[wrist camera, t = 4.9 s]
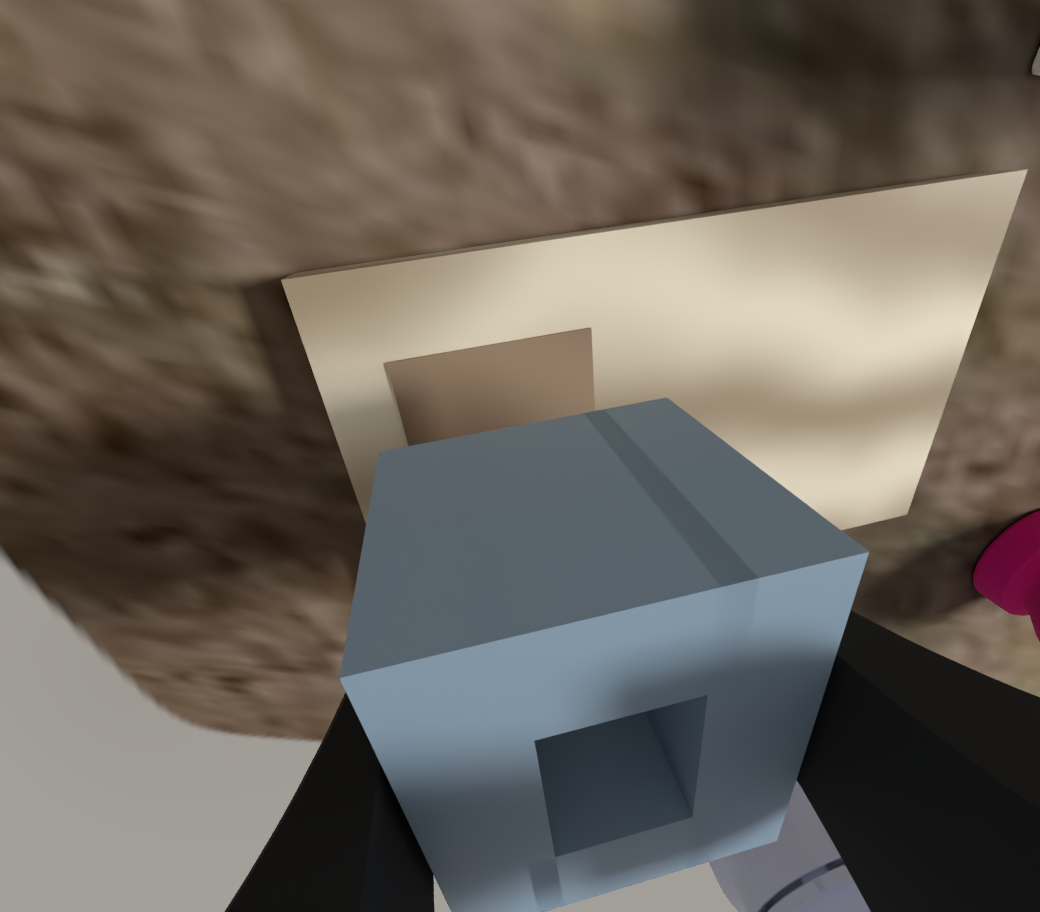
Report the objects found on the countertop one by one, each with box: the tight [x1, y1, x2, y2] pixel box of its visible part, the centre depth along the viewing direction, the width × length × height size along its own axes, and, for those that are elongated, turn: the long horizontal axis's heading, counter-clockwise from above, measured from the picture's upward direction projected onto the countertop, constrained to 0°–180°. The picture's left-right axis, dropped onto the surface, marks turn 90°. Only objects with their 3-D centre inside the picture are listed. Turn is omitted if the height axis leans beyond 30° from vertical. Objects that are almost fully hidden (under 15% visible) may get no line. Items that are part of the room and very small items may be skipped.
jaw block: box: [340, 397, 869, 912], centre depth 9 cm, size 7×6×5 cm
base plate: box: [281, 169, 1028, 530], centre depth 15 cm, size 13×22×6 cm, turn 97°
